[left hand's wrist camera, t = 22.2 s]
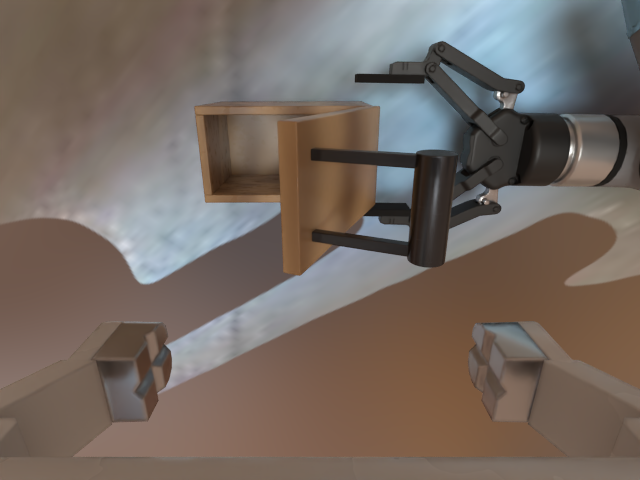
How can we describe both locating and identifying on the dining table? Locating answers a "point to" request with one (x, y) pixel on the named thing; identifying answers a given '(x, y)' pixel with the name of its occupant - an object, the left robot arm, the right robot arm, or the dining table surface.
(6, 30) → the dining table surface
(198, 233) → the dining table surface
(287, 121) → the lid
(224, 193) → the chest
